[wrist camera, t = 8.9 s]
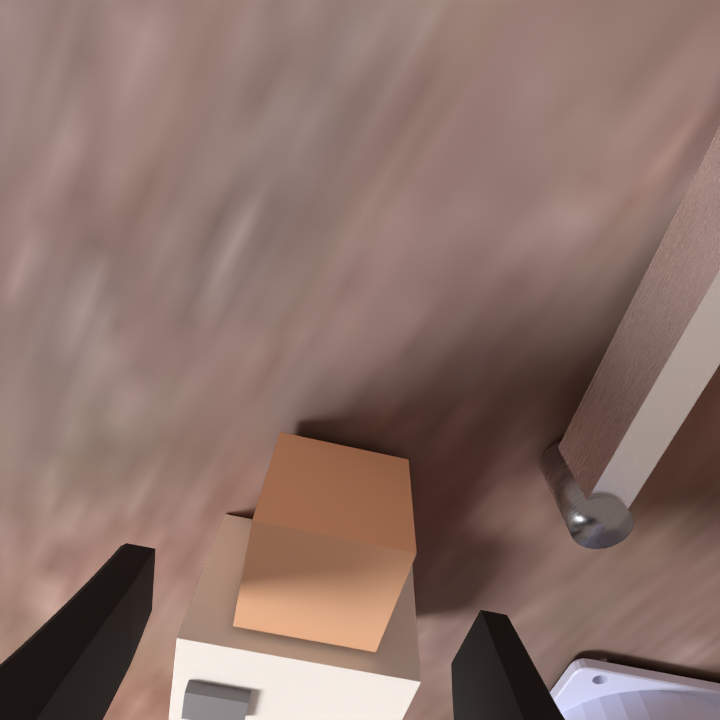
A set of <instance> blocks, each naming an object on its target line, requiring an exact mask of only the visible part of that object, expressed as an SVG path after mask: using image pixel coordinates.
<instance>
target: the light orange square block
mask: <svg viewBox="0 0 720 720" xmlns="http://www.w3.org/2000/svg"><path fill="white" fill-rule="evenodd" d="M416 554H417V551H416V539H415V528H414V517H413V505H412V494H411V482H410V471H409V460H408V459H403V458H399V457H394V456H389V455H385V454H380V453H375V452H371V451H366V450H362V449H357V448H352V447H348V446H343V445H338V444H334V443H329V442H324V441H320V440H315V439H310V438H306V437H301V436H296V435H292V434H287V433H282V432H280V434H279V437H278V440H277V444H276V447H275V450H274V453H273V456H272V459H271V463H270V466H269V469H268V472H267V475H266V478H265V482H264V485H263V488H262V491H261V494H260V497H259V501H258V504H257V507H256V510H255V513H254V516H253V520H252V524H251V530H250V535H249V541H248V546H247V552H246V557H245V562H244V568H243V573H242V579H241V584H240V590H239V595H238V601H237V606H236V611H235V617H234V622H233V626H235V627H240V628H245V629H251V630H256V631H262V632H267V633H273V634H278V635H284V636H289V637H295V638H300V639H305V640H311V641H316V642H322V643H327V644H333V645H338V646H344V647H349V648H355V649H360V650H366V651H371V652H376V651H377V648H378V646H379V643H380V641H381V638H382V636H383V634H384V631H385V629H386V626H387V624H388V622H389V619H390V617H391V614H392V612H393V609H394V607H395V605H396V602H397V600H398V597H399V595H400V593H401V590H402V588H403V585H404V583H405V580H406V578H407V576H408V573H409V571H410V568H411V566H412V563H413V561H414V559H415V556H416Z"/></svg>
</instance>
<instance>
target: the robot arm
mask: <svg viewBox="0 0 720 720" xmlns="http://www.w3.org/2000/svg"><path fill="white" fill-rule="evenodd" d="M154 564H155V549H154V548H148V547H143V546H138V545H132V544H127V543H126V544H124V545H122V546H121V547H120V548H119V549H118V550H117V551H116V552H115V553H114V554H113V555H112V557H111V558H110V559H109V560H108V561H107V562H106V563H105V564H104V565H103V566H102V567H101V568H100V569H99V570H98V572H97V573H96V574H95V575H94V576H93V577H92V578H91V579H90V580H89V581H88V582H87V583H86V584H85V585H84V586H83V587H82V588H81V589H80V590H79V591H78V592H77V593H76V594H75V595H74V596H73V597H72V598H71V599H70V600H69V601H68V602H67V603H66V604H65V605H64V606H63V607H62V608H61V609H60V610H59V611H58V612H57V613H56V614H55V615H54V616H53V617H51V618H50V619H49V620H48V621H47V622H46V623H45V624H44V625H43V626H42V627H41V628H40V629H39V630H38V631H37V632H36V633H35V634H34V635H33V636H32V637H30V638H29V639H28V640H27V641H26V642H25V643H24V644H23V645H22V646H21V647H20V648H18V649H17V650H16V651H15V652H14V653H13V654H12V655H11V656H9V657H8V658H7V659H6V660H5V661H4V662H3V663H1V664H0V720H103V718H104V716H105V714H106V712H107V710H108V708H109V706H110V704H111V702H112V700H113V698H114V696H115V694H116V692H117V690H118V688H119V686H120V684H121V682H122V680H123V678H124V676H125V674H126V672H127V670H128V668H129V666H130V664H131V662H132V659H133V657H134V654H135V652H136V649H137V647H138V644H139V642H140V639H141V637H142V634H143V632H144V629H145V627H146V624H147V621H148V619H149V616H150V614H151V611H152V597H153V581H154ZM451 667H452V694H453V711H454V720H720V683H715V682H709V681H704V680H699V679H694V678H688V677H683V676H678V675H672V674H667V673H662V672H656V671H651V670H646V669H640V668H635V667H630V666H625V665H619V664H614V663H609V662H603V661H598V660H593V659H586V658H582V659H577V660H575V661H573V662H572V663H571V664H570V665H569V667H568V668H567V670H566V671H565V672H564V674H563V675H562V676H561V678H560V679H559V681H558V682H557V683H556V685H555V686H554V687H553V689H552V690H551V692H550V693H549V691H548V689H547V687H546V685H545V684H544V682H543V680H542V678H541V676H540V675H539V673H538V671H537V669H536V667H535V666H534V664H533V662H532V660H531V658H530V656H529V655H528V653H527V651H526V649H525V647H524V645H523V643H522V642H521V640H520V638H519V636H518V634H517V632H516V631H515V629H514V627H513V625H512V623H511V621H510V620H509V618H508V616H507V615H504V614H499V613H494V612H488V611H483V610H480V612H479V614H478V616H477V618H476V619H475V621H474V623H473V625H472V627H471V629H470V631H469V632H468V634H467V636H466V638H465V640H464V642H463V643H462V645H461V647H460V649H459V651H458V653H457V654H456V656H455V658H454V660H453V662H452V664H451Z"/></svg>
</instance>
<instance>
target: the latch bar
mask: <svg viewBox="0 0 720 720" xmlns="http://www.w3.org/2000/svg"><path fill="white" fill-rule="evenodd" d="M719 364H720V126H719V128H718V130H717V132H716V134H715V136H714V138H713V140H712V142H711V144H710V146H709V148H708V150H707V152H706V154H705V156H704V158H703V160H702V162H701V164H700V166H699V168H698V170H697V172H696V174H695V176H694V178H693V180H692V182H691V184H690V186H689V188H688V190H687V192H686V194H685V196H684V198H683V200H682V202H681V204H680V206H679V208H678V210H677V212H676V214H675V216H674V218H673V220H672V222H671V224H670V226H669V228H668V230H667V232H666V234H665V236H664V238H663V240H662V242H661V244H660V246H659V248H658V250H657V252H656V253H655V255H654V257H653V259H652V261H651V263H650V265H649V267H648V269H647V271H646V273H645V275H644V277H643V279H642V281H641V283H640V285H639V287H638V289H637V291H636V293H635V295H634V297H633V299H632V301H631V303H630V305H629V307H628V309H627V311H626V313H625V315H624V317H623V319H622V321H621V323H620V325H619V327H618V329H617V331H616V333H615V335H614V337H613V339H612V341H611V343H610V345H609V347H608V349H607V351H606V353H605V355H604V357H603V359H602V361H601V363H600V365H599V367H598V369H597V371H596V373H595V375H594V377H593V379H592V381H591V383H590V385H589V387H588V389H587V391H586V393H585V395H584V397H583V399H582V401H581V403H580V405H579V407H578V408H577V410H576V412H575V414H574V416H573V418H572V420H571V422H570V424H569V426H568V428H567V430H566V432H565V434H564V436H563V438H562V440H561V441H560V442H557V443H555V444H553V445H551V446H549V447H548V448H547V449H546V450H545V451H544V452H543V454H542V456H541V458H540V469H541V471H542V473H543V475H544V478H545V480H546V482H547V484H548V486H549V488H550V490H551V493H552V495H553V497H554V499H555V501H556V503H557V506H558V508H559V510H560V512H561V514H562V516H563V518H564V521H565V523H566V525H567V527H568V529H569V531H570V534H571V536H572V538H573V539H574V541H575V542H576V543H578V544H579V545H581V546H583V547H586V548H592V549H601V548H607V547H611V546H613V545H616V544H618V543H620V542H621V541H623V540H624V539H625V538H626V537H627V536H628V535H629V534H630V532H631V531H632V528H633V525H634V520H633V516H632V514H631V513H630V511H629V510H628V509H629V507H630V505H631V504H632V502H633V501H634V499H635V497H636V496H637V494H638V493H639V491H640V490H641V488H642V486H643V485H644V483H645V482H646V480H647V478H648V477H649V475H650V474H651V472H652V471H653V469H654V467H655V466H656V464H657V463H658V461H659V459H660V458H661V456H662V455H663V453H664V452H665V450H666V448H667V447H668V445H669V444H670V442H671V440H672V439H673V437H674V436H675V434H676V433H677V431H678V429H679V428H680V426H681V425H682V423H683V421H684V420H685V418H686V417H687V415H688V414H689V412H690V410H691V409H692V407H693V406H694V404H695V402H696V401H697V399H698V398H699V396H700V395H701V393H702V391H703V390H704V388H705V387H706V385H707V383H708V382H709V380H710V379H711V377H712V376H713V374H714V372H715V371H716V369H717V368H718V366H719Z"/></svg>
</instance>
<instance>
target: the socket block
mask: <svg viewBox="0 0 720 720" xmlns="http://www.w3.org/2000/svg"><path fill="white" fill-rule="evenodd" d="M252 520H253V519H248V518H243V517H238V516H233V515H228V514H225V516H224V519H223V521H222V524H221V526H220V529H219V532H218V534H217V537H216V539H215V542H214V544H213V547H212V550H211V552H210V555H209V557H208V560H207V562H206V565H205V567H204V570H203V573H202V575H201V578H200V580H199V583H198V585H197V588H196V591H195V593H194V596H193V598H192V601H191V603H190V606H189V609H188V611H187V614H186V616H185V619H184V621H183V624H182V626H181V629H180V632H179V634H178V637H177V642H176V652H175V662H174V672H173V682H172V691H171V701H170V711H169V720H402V719H403V717H404V715H405V713H406V711H407V709H408V707H409V705H410V703H411V701H412V699H413V697H414V695H415V693H416V691H417V689H418V687H419V685H420V683H421V675H420V662H419V649H418V636H417V622H416V609H415V596H414V583H413V569H412V566H411V568H410V571H409V573H408V576H407V578H406V580H405V583H404V585H403V588H402V590H401V593H400V595H399V597H398V600H397V602H396V605H395V607H394V609H393V612H392V614H391V617H390V619H389V622H388V624H387V626H386V629H385V631H384V634H383V636H382V638H381V641H380V643H379V646H378V648H377V651H376V652H371V651H366V650H360V649H355V648H349V647H344V646H338V645H333V644H327V643H322V642H316V641H311V640H305V639H300V638H295V637H289V636H284V635H278V634H273V633H267V632H262V631H256V630H251V629H245V628H240V627H235V626H233V622H234V617H235V611H236V606H237V601H238V595H239V590H240V584H241V579H242V573H243V568H244V562H245V557H246V552H247V546H248V541H249V535H250V530H251V524H252Z"/></svg>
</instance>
